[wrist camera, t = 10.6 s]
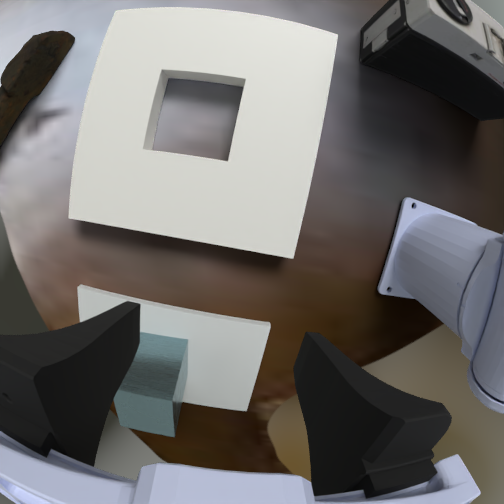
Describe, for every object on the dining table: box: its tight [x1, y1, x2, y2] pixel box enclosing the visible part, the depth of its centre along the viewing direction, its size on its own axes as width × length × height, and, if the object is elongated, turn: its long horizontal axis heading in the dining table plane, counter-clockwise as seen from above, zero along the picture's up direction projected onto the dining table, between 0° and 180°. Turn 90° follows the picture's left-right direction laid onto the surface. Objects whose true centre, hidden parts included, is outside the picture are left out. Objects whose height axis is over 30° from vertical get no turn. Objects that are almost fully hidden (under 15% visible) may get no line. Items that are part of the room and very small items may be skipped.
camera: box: [360, 0, 504, 121], centre depth 12 cm, size 14×9×10 cm, turn 74°
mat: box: [78, 285, 271, 411], centre depth 22 cm, size 16×10×1 cm, turn 79°
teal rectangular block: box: [114, 332, 188, 437], centre depth 19 cm, size 4×4×7 cm
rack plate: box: [69, 7, 338, 259], centre depth 17 cm, size 16×16×2 cm
